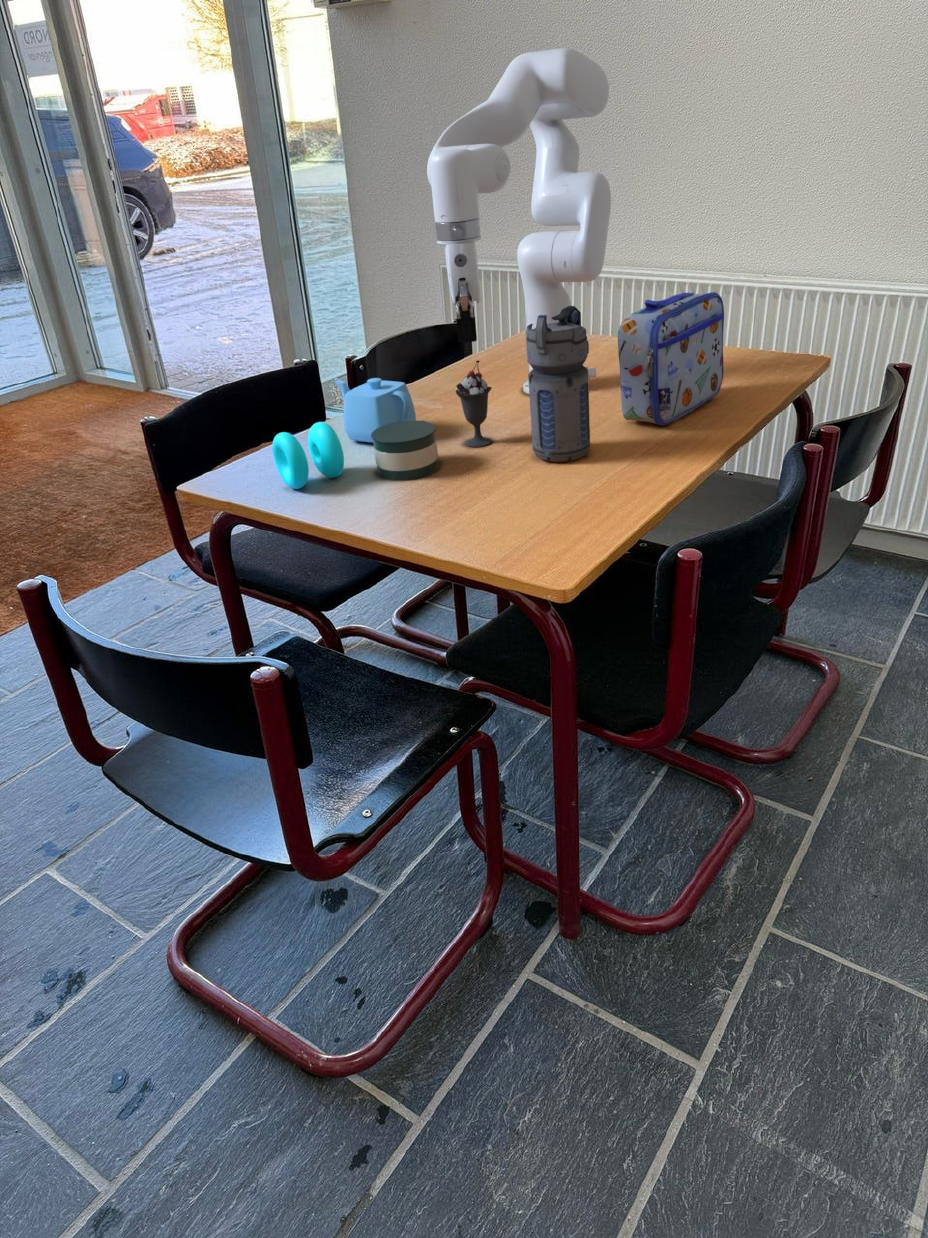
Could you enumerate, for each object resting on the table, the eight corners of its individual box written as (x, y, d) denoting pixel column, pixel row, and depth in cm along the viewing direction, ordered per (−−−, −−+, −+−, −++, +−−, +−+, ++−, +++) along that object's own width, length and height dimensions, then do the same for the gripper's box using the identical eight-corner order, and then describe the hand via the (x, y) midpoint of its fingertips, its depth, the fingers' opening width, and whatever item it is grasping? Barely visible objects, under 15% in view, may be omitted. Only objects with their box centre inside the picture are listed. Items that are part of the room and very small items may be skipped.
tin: (440, 454, 168) (435, 417, 164) (439, 476, 158) (435, 438, 154) (378, 460, 168) (373, 423, 164) (374, 483, 158) (368, 445, 155)
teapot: (361, 421, 189) (352, 367, 184) (431, 430, 180) (424, 372, 174) (322, 441, 181) (312, 384, 175) (394, 451, 171) (386, 391, 166)
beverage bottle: (606, 443, 164) (603, 299, 151) (572, 469, 155) (566, 318, 142) (556, 437, 169) (549, 298, 157) (520, 462, 160) (510, 316, 147)
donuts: (350, 481, 160) (341, 426, 155) (299, 497, 156) (287, 442, 151) (326, 467, 168) (317, 414, 163) (276, 482, 163) (265, 428, 158)
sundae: (497, 435, 173) (490, 356, 166) (494, 447, 168) (487, 366, 160) (463, 437, 174) (454, 359, 167) (459, 449, 169) (450, 369, 161)
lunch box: (659, 437, 164) (660, 312, 153) (610, 430, 170) (608, 308, 159) (729, 394, 181) (734, 279, 170) (681, 389, 187) (684, 277, 176)
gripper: (482, 235, 145) (490, 344, 153) (479, 223, 160) (486, 323, 168) (435, 240, 145) (446, 348, 153) (436, 228, 160) (446, 327, 169)
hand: (467, 335), depth 161 cm, fingers open, 9 cm apart
